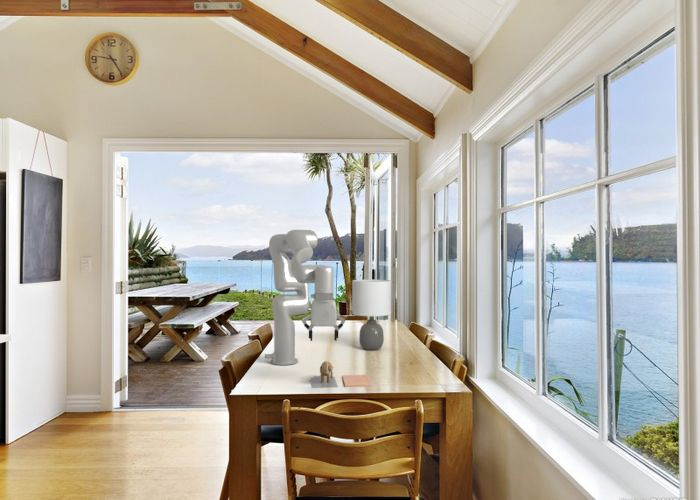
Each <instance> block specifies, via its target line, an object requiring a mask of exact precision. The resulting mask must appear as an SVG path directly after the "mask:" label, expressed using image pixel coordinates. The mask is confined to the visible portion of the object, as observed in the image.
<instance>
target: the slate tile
mask: <svg viewBox="0 0 700 500" xmlns="http://www.w3.org/2000/svg"><path fill="white" fill-rule="evenodd" d="M309 379H310V386H311V388H312V389H319V388H320V389H325V388H327V389H329V388H338V387H339V386H338V382H337V381H336V378H335V376H333V378H331V377H330V378H329V381H330V383H327V376H326V377H325V379H323V380H324V383H320V382H321V376H319V377H318V376H317V377H316V376H313V377H309Z"/></svg>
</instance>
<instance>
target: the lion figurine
mask: <svg viewBox="0 0 700 500" xmlns="http://www.w3.org/2000/svg"><path fill="white" fill-rule="evenodd" d="M334 369H335V368H334V366H332V363H331V361H329V360H325V361H323V362H322V363H321V364H320V367H319V373H320V377H321V382H320V383H324V380H323V379H325V377H327V383H330V381H329V378H330V377H331V378H333V377H334V376H333V370H334Z"/></svg>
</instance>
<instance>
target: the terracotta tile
mask: <svg viewBox="0 0 700 500" xmlns="http://www.w3.org/2000/svg"><path fill="white" fill-rule="evenodd" d="M342 381H343V384H344V388H366V387H367V388H370V387H372V384H371V382H370V381H371V380H370V379H369V377H368V375H367V374H353V375H351V374H350V375H349V374H347V375H345V374H344V375H342Z"/></svg>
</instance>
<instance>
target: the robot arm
mask: <svg viewBox="0 0 700 500" xmlns="http://www.w3.org/2000/svg"><path fill="white" fill-rule="evenodd" d="M318 241H319V239H318V236H317V233H316V232H315V231H314V230H310V229H291V230H289V231H288V232H286V233H278V234H273V235H272V236H271V237H270V239H269V242H268V244H269V245H268V250H269V254H270V257H271V260H272V265H273V281H274V282H273V283H274V288H275V290H276V291H277V292H280V293H281V292H282V293H286V292H287V293H289V292H291V293H292V292H294V293H293V294H291V293H289V294H279V295H277V296H275V297H274V298H273V299H272V305H271V306H272V313H273V323H274V326H273V327H274V331H273V332H274V333H273V334H274V335H273V337H274V338H273V341H274V342H273V345H274V346H273V348H274V349H273V350H274V351H273V353H265V354H264V359H271V360H270V363H271V364H272V365H276V366H290V365H294V364H298V363H299V359H298V358H296V356H295V355H296V354H295V353H296V351H295V347H296V346H295V345H296V344H295V343H296V337H295V336H296V328H295V327H296V325H295V322H294V320H293V319H292V317H291V316H293V315H304V314H307V313H308V312H309V309H310V308H311V309H310V314H309V315H308V316H305V317H303V318H302V319H301V322H302V324H303V326H304V327H305V329H307V330H308V339H309V340H310V342H313V329H314V327H333V328H334V337H333V338H334V341H336V342H337V339H339V330H340V329H342V328H343V326H344V324H345V322H346V319H345V318H344V317H342V316H340V315H338V313H337V303H336V300H334V281H335V280H334V276H335V275H334V273H335V271H334V267H332V266H329V265H325V264H324V265H323V264H305V263H307V262H308V261H309V260H311V259H312V257H313V255H314V250H313V249H315V248H316V247H317V246H318V243H319V242H318ZM286 253H291V254H292V255H293V256H292V258H291V259H290V258H289V256H288V255H287V254H286ZM309 284H314V293H313V294H310V293H309V291H310V289H309ZM295 292H296V294H295ZM310 298H312V299H314V300H312V302H311V307H310ZM309 320H310V325H309V324H308V323H307V321H309ZM337 320H339V321H340V323H339V324H338V323H337V322H338V321H337ZM337 324H338V325H337Z"/></svg>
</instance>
